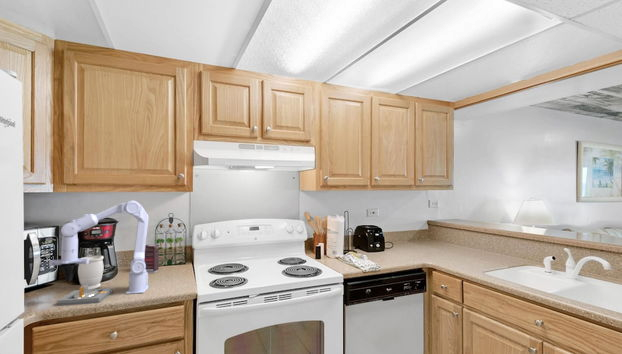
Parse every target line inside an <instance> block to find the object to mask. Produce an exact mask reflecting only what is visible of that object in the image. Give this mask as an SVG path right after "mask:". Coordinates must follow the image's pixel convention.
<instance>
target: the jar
mask: <svg viewBox="0 0 622 354" xmlns="http://www.w3.org/2000/svg"><path fill="white" fill-rule="evenodd" d="M104 258H105V257H104V255H88V256H84V257H83V256H82V257H81V258H79V259H89V263H88V264H79V265H78V267H77V275H78V281H79V284H80V285H81V286H80V287H82V286H84V285H88V289H99V288H100V287H101V286H102V284H101V282H102V279H103V273H104V270H105V269H104V261H103V260H104Z"/></svg>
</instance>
